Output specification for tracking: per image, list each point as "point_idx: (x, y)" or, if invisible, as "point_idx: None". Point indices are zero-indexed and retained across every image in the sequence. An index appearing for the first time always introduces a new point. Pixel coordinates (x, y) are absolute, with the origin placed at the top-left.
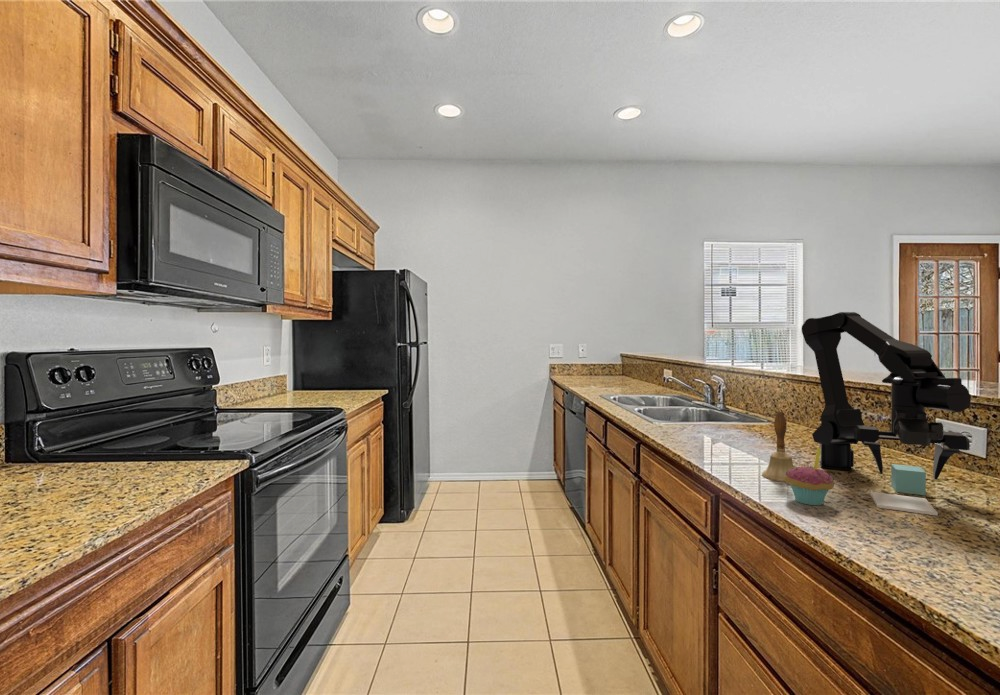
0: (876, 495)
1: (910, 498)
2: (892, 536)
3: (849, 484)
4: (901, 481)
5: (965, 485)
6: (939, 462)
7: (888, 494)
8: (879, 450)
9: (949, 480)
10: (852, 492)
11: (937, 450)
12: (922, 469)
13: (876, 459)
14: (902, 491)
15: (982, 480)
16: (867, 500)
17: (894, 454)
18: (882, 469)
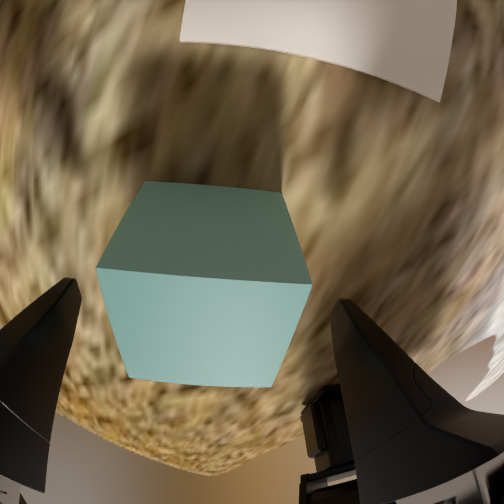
0: (437, 36)
1: (275, 7)
2: None
3: (430, 243)
4: (260, 223)
5: None
6: (2, 354)
7: (374, 63)
8: (434, 425)
9: (79, 377)
10: (478, 122)
11: (13, 454)
12: (116, 336)
13: (410, 362)
14: (250, 190)
15: None
16: (465, 11)
17: (177, 459)
18: (350, 315)
